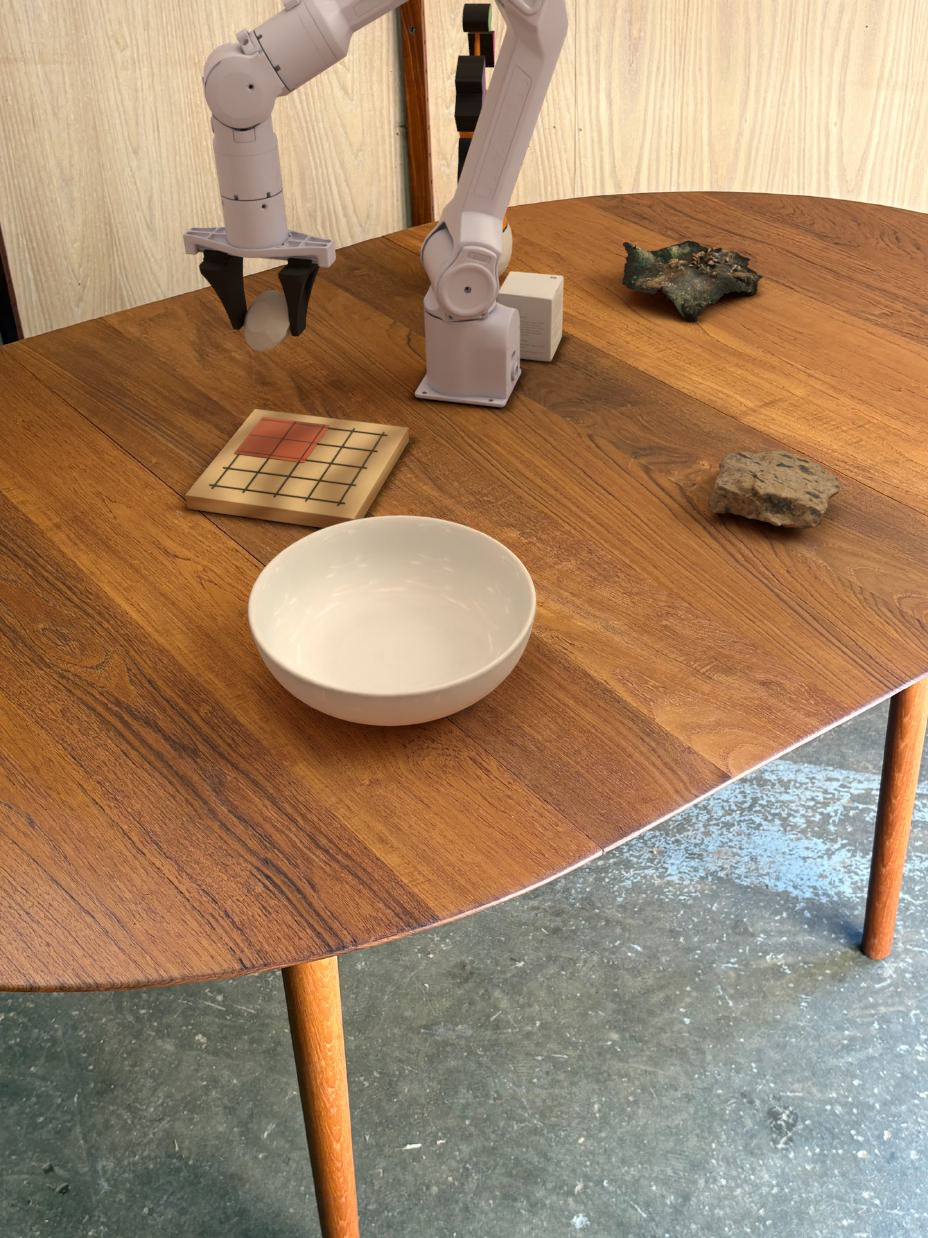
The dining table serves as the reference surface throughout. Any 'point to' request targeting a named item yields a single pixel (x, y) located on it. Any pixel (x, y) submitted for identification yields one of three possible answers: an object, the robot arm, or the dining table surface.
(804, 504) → the rock
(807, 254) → the dining table surface
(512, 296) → the product box
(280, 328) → the gemstone
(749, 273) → the decorative rock
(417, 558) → the serving bowl
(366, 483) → the board
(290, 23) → the robot arm
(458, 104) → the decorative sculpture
